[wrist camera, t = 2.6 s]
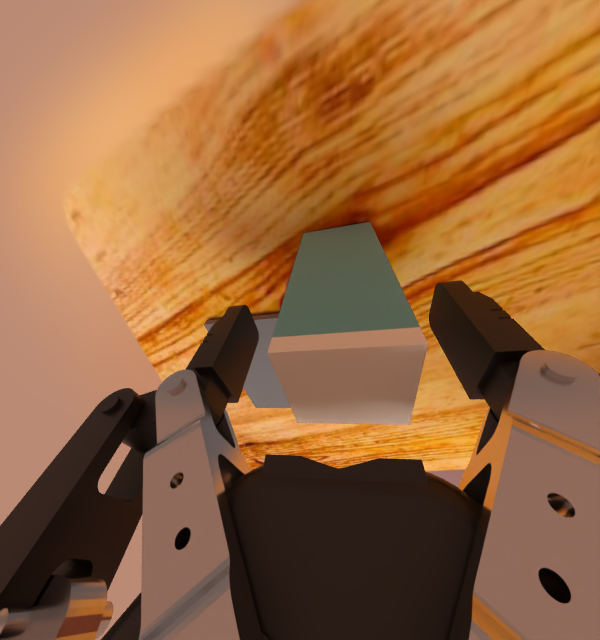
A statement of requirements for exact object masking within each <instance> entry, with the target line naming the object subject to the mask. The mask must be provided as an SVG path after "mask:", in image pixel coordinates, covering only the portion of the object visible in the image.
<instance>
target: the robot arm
mask: <svg viewBox="0 0 600 640" xmlns="http://www.w3.org/2000/svg"><path fill="white" fill-rule="evenodd" d="M429 323H430V327H431V329H432V331H433V333H434V335H435V336H436V338H437V340H438V342H439V344H440V346H441V347H442V349H443V351H444V353H445V355H446V357H447V358H448V360H449V362H450V364H451V366H452V368H453V369H454V371H455V373H456V375H457V377H458V379H459V380H460V382H461V384H462V386H463V388H464V389H465V391H466V393H467V395H468V397H469V399H485V400H486V402H487V403H488V405H489V407H488V409H487V411H486V413H485V416H484V420H483V423H482V426H481V429H480V432H479V435H478V438H477V441H476V445H475V448H474V451H473V454H472V457H471V460H470V462H469V464H468V466H467V468H466V470H465V472H464V474H463V477H462V479H461V482H460V484H459V487H456V486H455V485H453V484H451V483H449V482H448V481H446V480H444V479H442V478H440V477H438V476H435V475H433V474H431V473H428V472H425V470H424V466H423V463H422V460H412V459H382V458H379V459H375V460H371V461H368V462H364V463H360V464H356V465H353V466H349V467H345V468H340V469H338V468H334V467H331V466H328V465H325V464H322V463H319V462H316V461H314V460H311V459H308V458H305V457H302V456H291V455H266V457H265V462H264V465H263V466H260V467H258V468H256V469H253V470H252V471H251V470H250V467H249V465H248V463H247V462H246V460H245V458H244V457H243V455H242V453H241V451H240V448H239V445H238V442H237V439H236V437H235V434H234V431H233V428H232V425H231V422H230V420H229V417H228V414H227V412H226V410H225V408H226V405H227V403H238V401H239V398H240V395H241V392H242V389H243V386H244V383H245V380H246V377H247V374H248V371H249V368H250V365H251V362H252V359H253V356H254V353H255V350H256V347H257V344H258V341H259V332H258V329H257V326H256V324H255V322H254V320H253V317H252V315H251V313H250V310H249V308H248V307H247V306H246V305H240V306H231V307H229V308H228V309H227V311H226V313H225V314H224V316H223V318H220V319H219V320H218V321H217V322H216V323H215V324H214V325H213V326H212V327H211V329H210V330H209V332H208V333H207V336H206V337H205V338H204V340H203V343H201V345H200V347H199V348H198V350H197V352H196V353H195V355H194V356H193V358H192V360H191V361H190V363H189V365H188V366H187V368H186V370H181V371H178V372H176V373H174V374H172V375H170V376H169V377H168V378H166V379H165V380H164V381H163V382H162V383H161V385H160V386H159V388H158V389H157V390H155V391H152V392H149V393H146V394H143V395H138V394H137V393H136V392H135V391H133V390H132V389H130V388H125V389H121V390H118V391H116V392H114V393H112V394H111V395H109V396H108V397H106V398H105V399H104V400H103V401H101V402H100V403H99V404H98V405H97V407H96V408H95V409H94V410H93V412H92V413H91V414H90V415H89V417H88V418H87V419H86V420H85V422H84V423H83V424H82V425H81V426H80V428H79V429H78V430H77V432H76V433H75V434H74V435H73V436H72V438H71V439H70V440H69V441H68V443H67V444H66V445H65V446H64V447H63V449H62V450H61V451H60V452H59V454H58V455H57V456H56V457H55V459H54V460H53V461H52V462H51V464H50V465H49V466H48V467H47V469H46V470H45V471H44V472H43V474H42V475H41V476H40V477H39V479H38V480H37V481H36V482H35V484H34V485H33V486H32V487H31V489H30V490H29V491H28V492H27V493H26V495H25V496H24V497H23V499H22V500H21V501H20V502H19V503H18V505H17V506H16V507H15V508H14V510H13V511H12V512H11V513H10V515H9V516H8V517H7V518H6V519H5V521H4V522H3V523H2V524H1V526H0V640H95V639H97V638H98V637H99V636H100V635H102V633H103V632H104V631H105V629H106V628H107V627H108V625H109V622H110V620H111V618H112V614H113V604H112V602H110V601H107V591H108V589H109V587H110V585H111V582H112V580H113V578H114V576H115V574H116V571H117V569H118V567H119V565H120V562H121V560H122V558H123V556H124V554H125V551H126V549H127V547H128V545H129V542H130V540H131V538H132V536H133V534H134V531H135V529H136V527H137V525H138V522H139V520H140V518H141V516H142V514H143V519H142V522H143V523H142V592H141V593H140V594H139V595H138V596H137V598H136V599H135V600H134V601H133V602H132V604H131V605H130V606H129V607H128V608H127V610H126V611H125V612H124V613H123V614H122V615H121V617H120V618H119V619H118V620H117V621H116V622H115V624H114V625H113V626H112V627H111V628H110V630H109V631H108V632H107V633H106V634H105V635H104V637H103V638H102V639H101V640H600V374H598V373H597V372H596V371H595V370H594V369H593V368H591V367H590V366H589V365H587V364H585V363H584V362H582V361H580V360H578V359H576V358H574V357H571V356H569V355H566V354H563V353H559V352H554V351H548V350H545V349H544V348H542V347H541V346H540V345H539V344H538V343H537V342H536V341H535V340H534V339H533V338H532V337H531V336H530V335H529V334H528V333H527V332H526V331H525V330H524V329H523V328H522V327H521V326H520V325H519V324H518V323H517V322H516V321H515V320H514V319H511V316H510V315H509V314H508V313H507V312H506V311H503V310H502V308H501V307H500V306H499V305H498V304H497V303H496V302H495V301H494V300H493V299H492V298H490V297H488V296H486V295H484V294H482V293H480V292H473V291H472V290H471V289H470V288H469V287H468V286H467V285H466V284H465V283H464V282H463V281H461V280H459V281H451V282H442V283H438V284H437V285H436V287H435V290H434V295H433V299H432V304H431V308H430V313H429ZM121 442H122V443H124V444H126V445H128V446H129V447H131V450H130V452H129V453H128V455H127V457H126V458H125V460H124V462H123V464H122V465H121V467H120V469H119V470H118V472H117V474H116V476H115V477H114V479H113V481H112V482H111V484H110V486H109V488H108V490H107V491H106V493H105V494H101V493H100V492H99V491H98V481H99V478H100V476H101V474H102V473H103V471H104V469H105V468H106V466H107V464H108V463H109V461H110V460H111V458H112V457H113V455H114V453H115V452H116V450H117V448H118V447H119V445H120V444H121Z"/></svg>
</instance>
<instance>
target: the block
mask: <svg viewBox="0 0 600 640" xmlns="http://www.w3.org/2000/svg"><path fill="white" fill-rule="evenodd" d="M427 346H428V343H427V341H426V339H425V337H424V334H423V332H422V330H421V328H420V326H419V324H418V322H417V320H416V318H415V315H414V313H413V311H412V309H411V307H410V305H409V303H408V301H407V299H406V297H405V294H404V292H403V290H402V288H401V286H400V284H399V282H398V280H397V278H396V275H395V273H394V271H393V269H392V267H391V265H390V263H389V261H388V259H387V257H386V254H385V252H384V250H383V248H382V246H381V244H380V242H379V240H378V238H377V235H376V233H375V231H374V229H373V227H372V225H371V223H370V222H365V223H359V224H354V225H348V226H342V227H336V228H331V229H325V230H319V231H313V232H308V233H303V237H302V240H301V243H300V247H299V250H298V253H297V256H296V260H295V263H294V266H293V270H292V273H291V276H290V280H289V283H288V286H287V289H286V293H285V296H284V299H283V303H282V306H281V309H280V313H279V316H278V319H277V323H276V326H275V329H274V332H273V336H272V339H271V342H270V346H269V349H268V352H267V353H268V356H269V358H270V360H271V363H272V365H273V367H274V369H275V372H276V374H277V376H278V379H279V381H280V383H281V386H282V388H283V390H284V393H285V395H286V397H287V400H288V402H289V404H290V407H291V409H292V411H293V413H294V416H295V418H296V420H297V423H342V424H401V425H409V424H410V420H411V416H412V411H413V407H414V403H415V398H416V394H417V390H418V385H419V381H420V377H421V372H422V368H423V364H424V359H425V355H426V351H427Z"/></svg>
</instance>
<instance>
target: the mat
mask: <svg viewBox="0 0 600 640" xmlns="http://www.w3.org/2000/svg"><path fill="white" fill-rule="evenodd" d="M278 316H279V313H277V314H267V315H257V316H252V317H253V320H254V322H255V324H256V326H257V329H258V332H259V341H258V344H257V347H256V350H255V353H254V356H253V359H252V362H251V365H250V368H249V371H248V374H247V377H246V380H245V383H244V386H243V388H244V389H245V391H246V393H247V394H248V396H249V397H250V399H251V401H252V402H253V404H254V405H255V407H256V408H291V407H290V404H289V402H288V400H287V397H286V395H285V393H284V390H283V388H282V386H281V383H280V381H279V379H278V376H277V374H276V372H275V369H274V367H273V365H272V363H271V360H270V358H269V356H268V353H267V352H268V349H269V346H270V342H271V339H272V336H273V332H274V329H275V326H276V323H277V319H278ZM218 320H219V319H215V320H207V321H206V322H205V324H204V325H205V327H206V329H207V330H208V332H209V330H210V329H211V327H212V326H213V325H214V324H215V323H216V322H217V321H218Z"/></svg>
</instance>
